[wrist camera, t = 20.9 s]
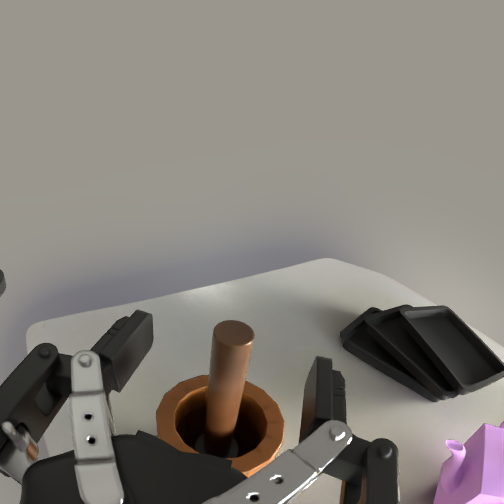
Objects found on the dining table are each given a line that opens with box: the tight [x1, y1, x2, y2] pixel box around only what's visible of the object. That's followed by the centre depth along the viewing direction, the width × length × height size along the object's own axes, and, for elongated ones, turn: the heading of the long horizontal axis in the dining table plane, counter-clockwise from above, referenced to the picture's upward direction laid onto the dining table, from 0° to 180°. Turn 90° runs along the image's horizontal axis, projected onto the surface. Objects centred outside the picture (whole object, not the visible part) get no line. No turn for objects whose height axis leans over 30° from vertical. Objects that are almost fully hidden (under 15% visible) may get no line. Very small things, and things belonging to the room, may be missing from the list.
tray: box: [339, 305, 504, 402], centre depth 40 cm, size 30×23×5 cm
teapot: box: [433, 421, 504, 504], centre depth 14 cm, size 15×13×11 cm
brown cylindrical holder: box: [156, 375, 285, 478], centre depth 19 cm, size 8×8×11 cm
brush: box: [194, 320, 254, 459], centre depth 18 cm, size 3×3×18 cm
